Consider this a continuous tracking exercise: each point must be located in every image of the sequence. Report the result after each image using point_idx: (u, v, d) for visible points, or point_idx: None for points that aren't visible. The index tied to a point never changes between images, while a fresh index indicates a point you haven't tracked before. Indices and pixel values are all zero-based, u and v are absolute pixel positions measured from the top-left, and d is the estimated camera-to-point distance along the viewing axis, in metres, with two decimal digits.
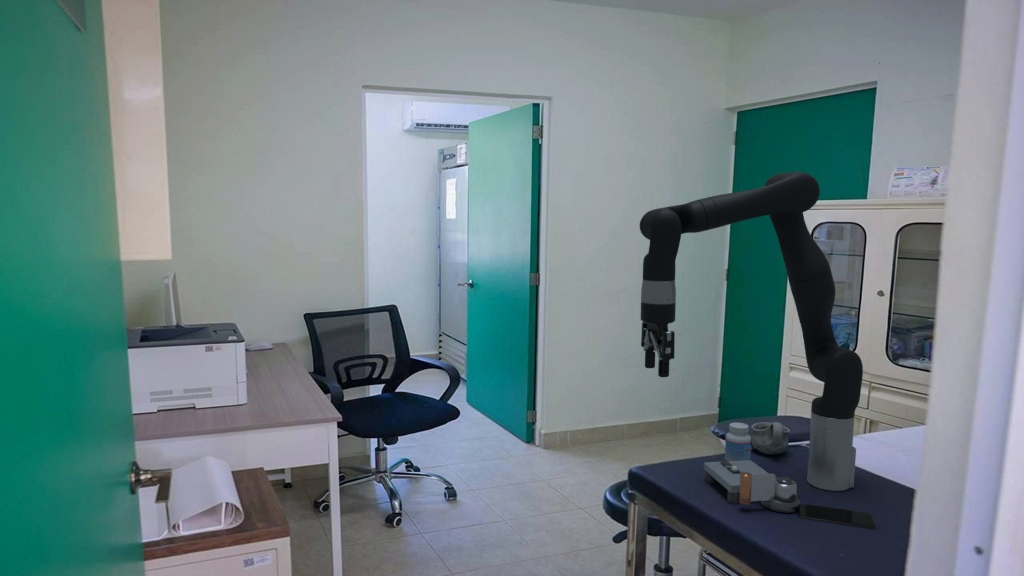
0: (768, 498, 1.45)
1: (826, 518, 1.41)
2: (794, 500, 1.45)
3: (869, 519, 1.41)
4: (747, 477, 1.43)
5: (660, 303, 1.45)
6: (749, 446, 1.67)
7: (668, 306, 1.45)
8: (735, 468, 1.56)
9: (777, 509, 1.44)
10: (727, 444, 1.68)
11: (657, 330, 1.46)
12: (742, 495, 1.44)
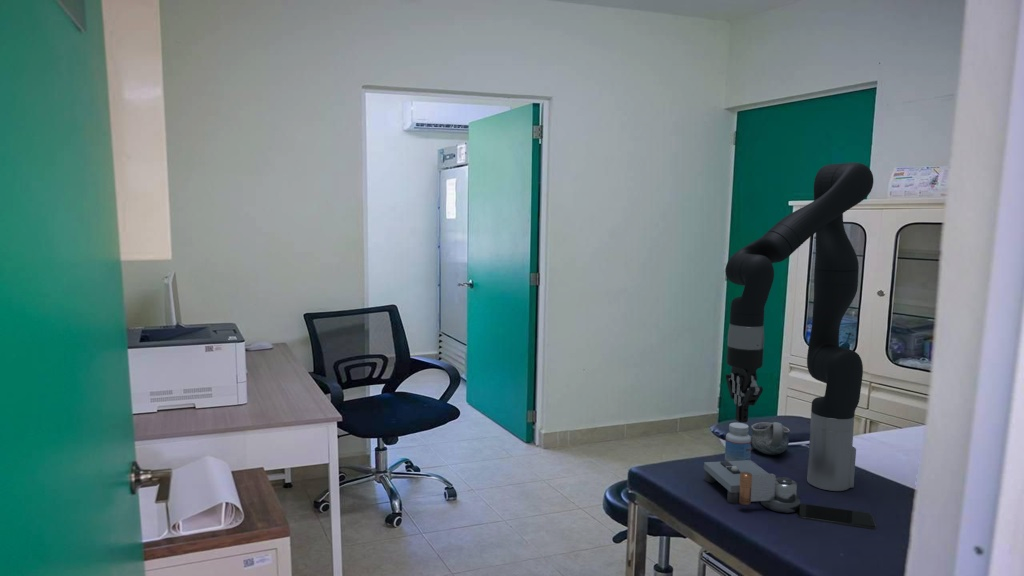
0: (768, 498, 1.45)
1: (826, 518, 1.41)
2: (794, 500, 1.45)
3: (869, 519, 1.41)
4: (747, 477, 1.43)
5: (749, 349, 1.44)
6: (749, 446, 1.67)
7: (757, 352, 1.44)
8: (735, 468, 1.56)
9: (777, 509, 1.44)
10: (727, 444, 1.68)
11: (745, 375, 1.45)
12: (742, 495, 1.44)
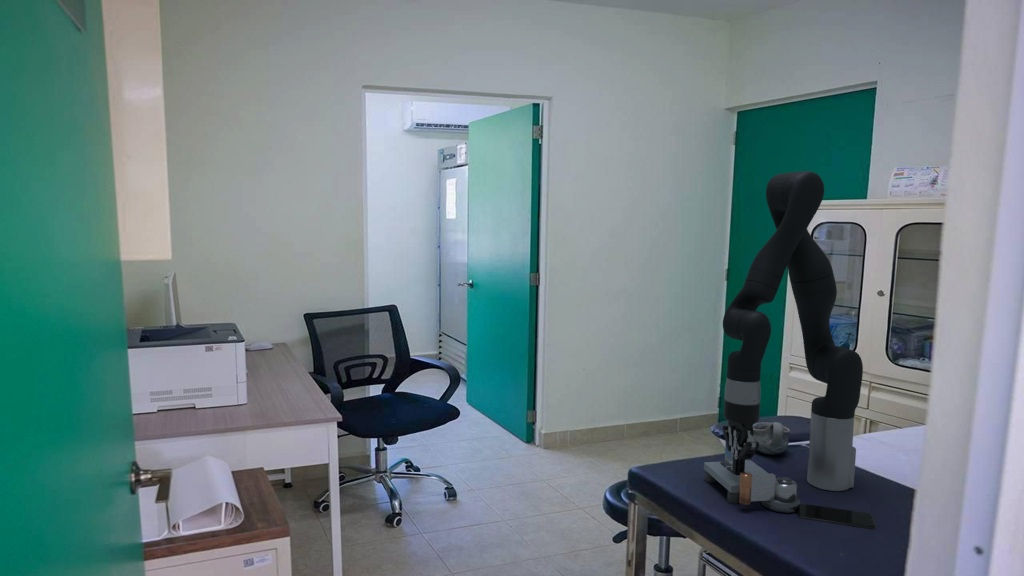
0: (768, 498, 1.45)
1: (826, 518, 1.41)
2: (794, 500, 1.45)
3: (869, 519, 1.41)
4: (747, 477, 1.43)
5: (746, 404, 1.45)
6: None
7: (754, 407, 1.46)
8: None
9: (777, 509, 1.44)
10: None
11: (742, 430, 1.47)
12: (742, 495, 1.44)
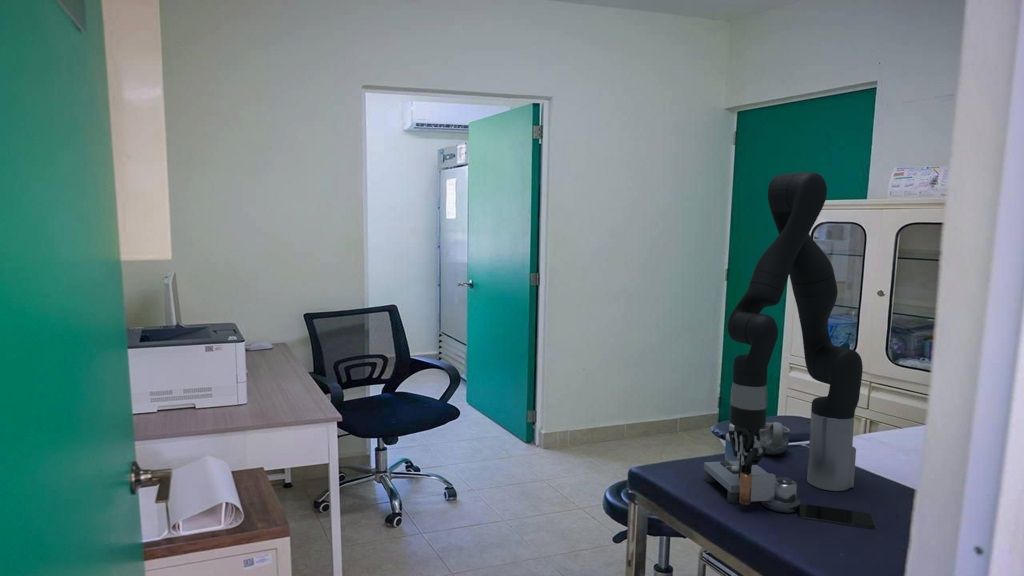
0: (768, 498, 1.45)
1: (825, 518, 1.41)
2: (794, 500, 1.45)
3: (869, 519, 1.41)
4: (747, 477, 1.43)
5: (752, 409, 1.43)
6: None
7: (760, 412, 1.43)
8: (735, 468, 1.56)
9: (777, 509, 1.44)
10: (727, 444, 1.68)
11: (748, 435, 1.44)
12: (742, 495, 1.44)
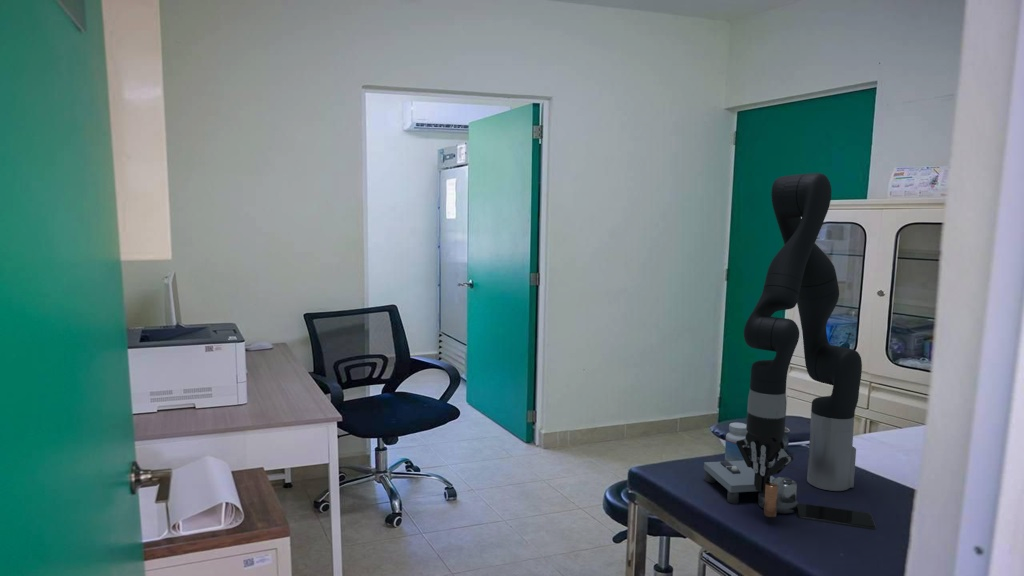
0: (780, 503, 1.43)
1: (825, 518, 1.41)
2: None
3: (869, 519, 1.41)
4: (776, 488, 1.38)
5: (778, 417, 1.37)
6: None
7: (784, 419, 1.38)
8: (735, 468, 1.56)
9: (788, 511, 1.44)
10: (727, 444, 1.68)
11: (773, 445, 1.38)
12: (772, 508, 1.38)
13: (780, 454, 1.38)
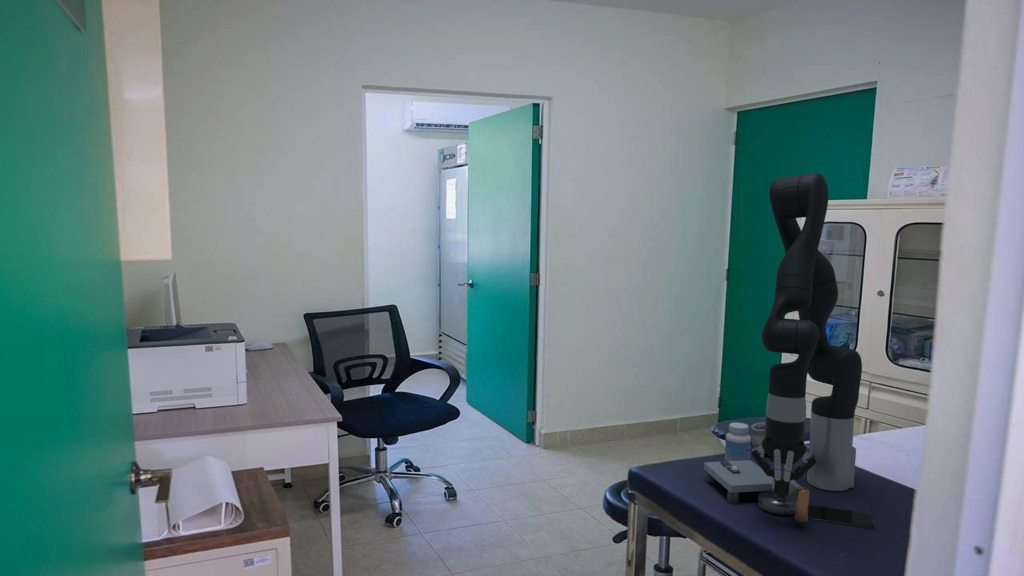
0: None
1: (825, 518, 1.41)
2: None
3: (868, 519, 1.41)
4: None
5: None
6: (749, 446, 1.67)
7: None
8: (735, 468, 1.56)
9: None
10: (727, 444, 1.68)
11: (799, 448, 1.36)
12: (807, 512, 1.37)
13: (806, 456, 1.37)
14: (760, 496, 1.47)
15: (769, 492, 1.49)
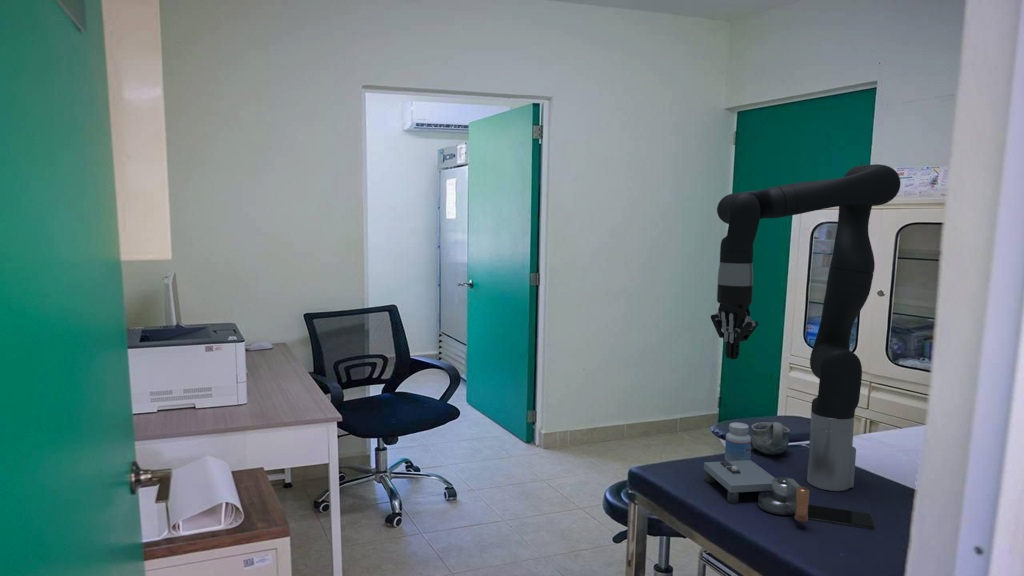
0: None
1: (825, 518, 1.41)
2: None
3: (868, 519, 1.41)
4: None
5: (744, 285, 1.48)
6: (749, 446, 1.67)
7: (750, 288, 1.48)
8: (735, 468, 1.56)
9: None
10: (727, 444, 1.68)
11: (739, 312, 1.49)
12: (807, 512, 1.37)
13: (746, 320, 1.48)
14: (760, 496, 1.47)
15: (769, 492, 1.49)
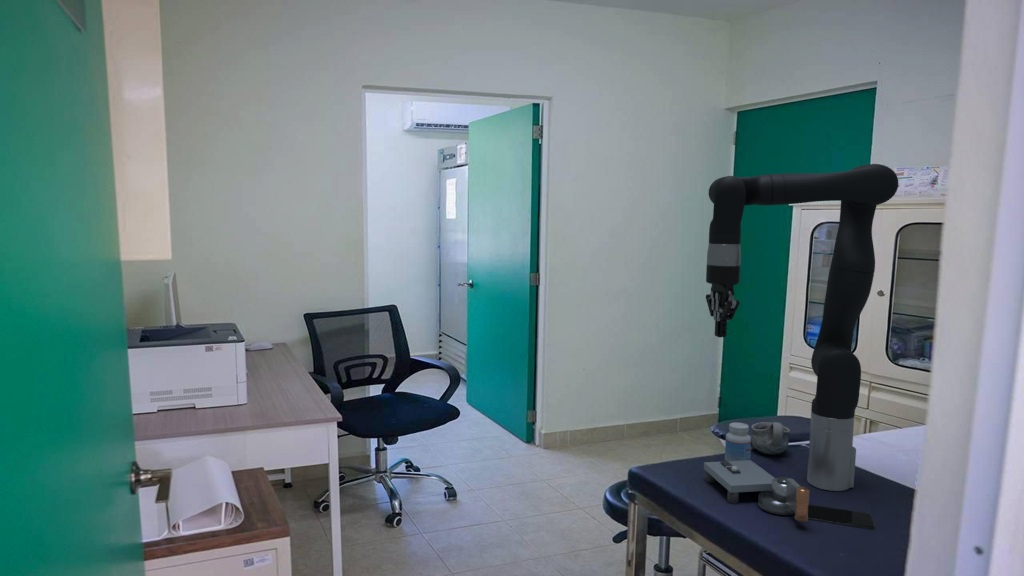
0: None
1: (825, 518, 1.41)
2: None
3: (868, 519, 1.41)
4: None
5: (727, 265, 1.53)
6: (749, 446, 1.67)
7: (734, 268, 1.53)
8: (735, 468, 1.56)
9: None
10: (727, 444, 1.68)
11: (723, 291, 1.54)
12: (807, 512, 1.37)
13: (728, 299, 1.53)
14: (760, 496, 1.47)
15: (769, 492, 1.49)
